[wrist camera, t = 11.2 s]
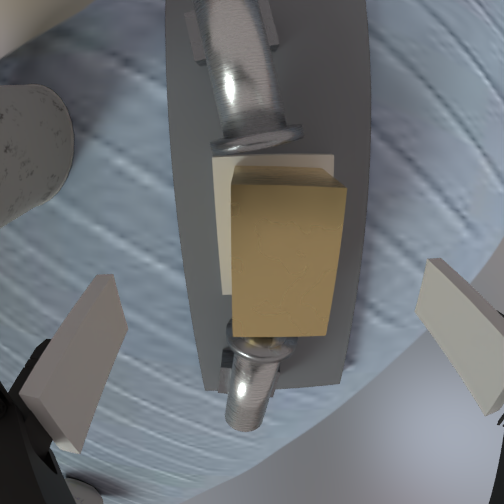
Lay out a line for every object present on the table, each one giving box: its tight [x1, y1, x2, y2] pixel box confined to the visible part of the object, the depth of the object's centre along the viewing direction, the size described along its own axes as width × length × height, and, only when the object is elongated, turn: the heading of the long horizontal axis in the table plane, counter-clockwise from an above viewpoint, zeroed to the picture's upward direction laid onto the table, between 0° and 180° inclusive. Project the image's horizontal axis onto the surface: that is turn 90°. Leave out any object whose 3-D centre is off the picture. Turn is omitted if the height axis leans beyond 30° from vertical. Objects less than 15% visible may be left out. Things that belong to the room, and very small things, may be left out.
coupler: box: [231, 166, 347, 337], centre depth 17 cm, size 8×5×5 cm, turn 179°
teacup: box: [65, 478, 103, 504], centre depth 39 cm, size 14×11×8 cm
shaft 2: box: [218, 318, 298, 432], centre depth 21 cm, size 9×4×6 cm, turn 172°
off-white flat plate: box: [212, 154, 334, 295], centre depth 20 cm, size 7×9×1 cm
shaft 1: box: [184, 0, 305, 156], centre depth 13 cm, size 9×4×6 cm, turn 12°
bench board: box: [165, 0, 371, 391], centre depth 20 cm, size 12×30×1 cm, turn 2°
